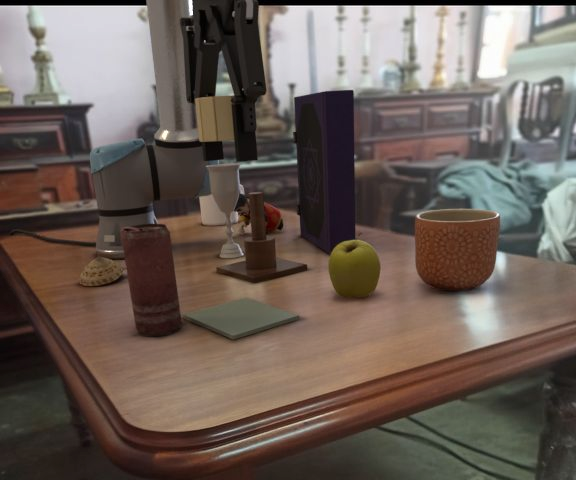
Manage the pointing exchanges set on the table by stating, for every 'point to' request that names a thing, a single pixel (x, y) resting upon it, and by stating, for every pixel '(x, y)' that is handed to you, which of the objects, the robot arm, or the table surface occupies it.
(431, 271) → the planter
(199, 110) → the tape roll
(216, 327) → the mat
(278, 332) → the table surface
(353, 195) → the book
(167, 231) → the can
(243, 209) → the figurine
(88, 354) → the table surface
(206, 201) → the mug
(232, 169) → the chalice
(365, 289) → the apple
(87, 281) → the seashell
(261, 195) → the stand
